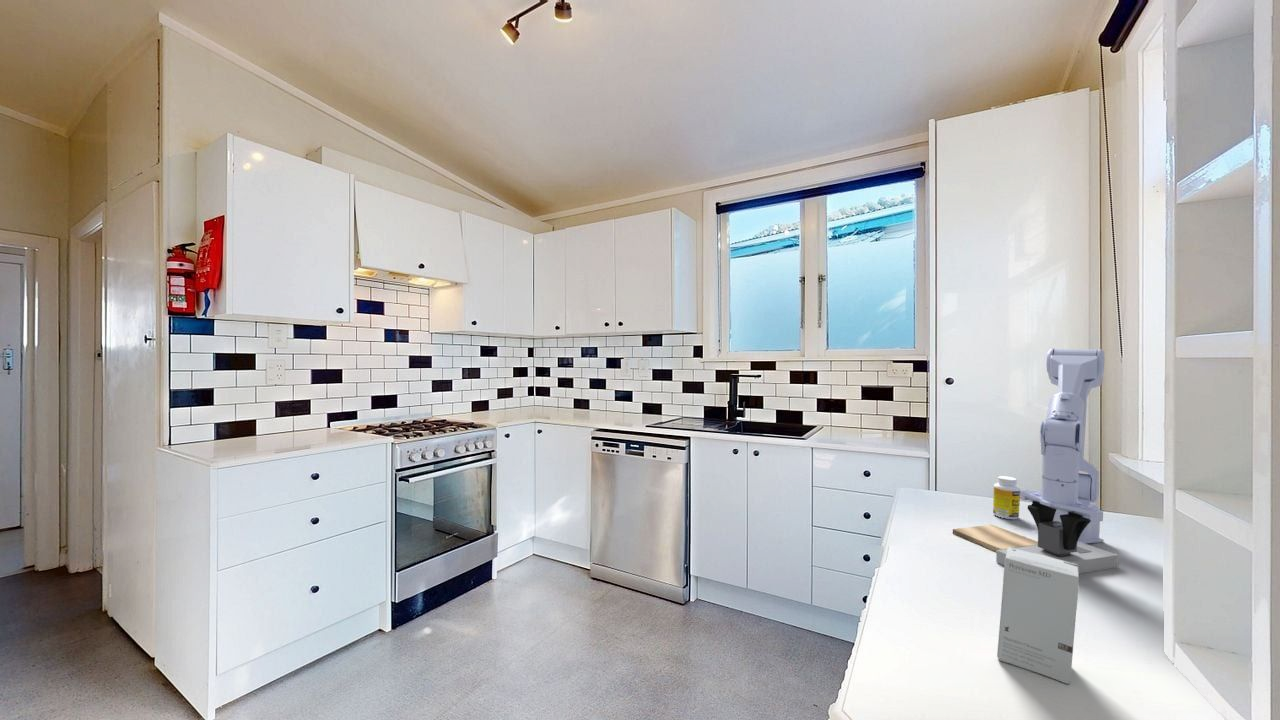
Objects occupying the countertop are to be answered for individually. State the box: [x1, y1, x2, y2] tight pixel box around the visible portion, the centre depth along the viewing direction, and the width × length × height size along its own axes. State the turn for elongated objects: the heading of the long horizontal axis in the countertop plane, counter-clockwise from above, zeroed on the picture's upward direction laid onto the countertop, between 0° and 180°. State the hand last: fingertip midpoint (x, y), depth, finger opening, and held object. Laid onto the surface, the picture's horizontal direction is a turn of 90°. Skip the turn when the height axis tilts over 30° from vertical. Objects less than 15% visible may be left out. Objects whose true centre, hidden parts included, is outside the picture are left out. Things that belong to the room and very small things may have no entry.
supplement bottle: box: [992, 475, 1021, 520], centre depth 132 cm, size 6×6×10 cm
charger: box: [1037, 521, 1077, 557], centre depth 103 cm, size 5×4×8 cm
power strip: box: [995, 541, 1119, 574], centre depth 103 cm, size 22×8×3 cm, turn 106°
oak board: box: [952, 524, 1038, 553], centre depth 116 cm, size 12×12×1 cm
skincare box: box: [996, 548, 1080, 685], centre depth 71 cm, size 8×6×15 cm
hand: (1057, 544), depth 103 cm, fingers closed on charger, 4 cm apart
